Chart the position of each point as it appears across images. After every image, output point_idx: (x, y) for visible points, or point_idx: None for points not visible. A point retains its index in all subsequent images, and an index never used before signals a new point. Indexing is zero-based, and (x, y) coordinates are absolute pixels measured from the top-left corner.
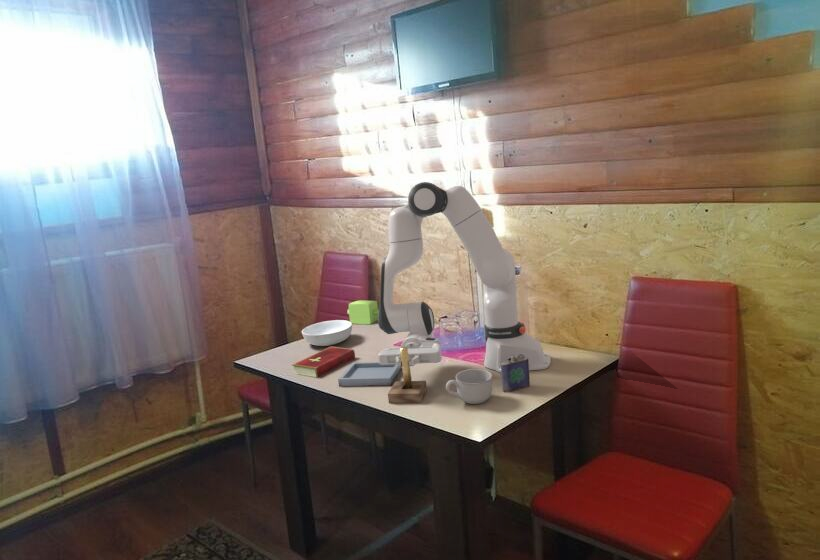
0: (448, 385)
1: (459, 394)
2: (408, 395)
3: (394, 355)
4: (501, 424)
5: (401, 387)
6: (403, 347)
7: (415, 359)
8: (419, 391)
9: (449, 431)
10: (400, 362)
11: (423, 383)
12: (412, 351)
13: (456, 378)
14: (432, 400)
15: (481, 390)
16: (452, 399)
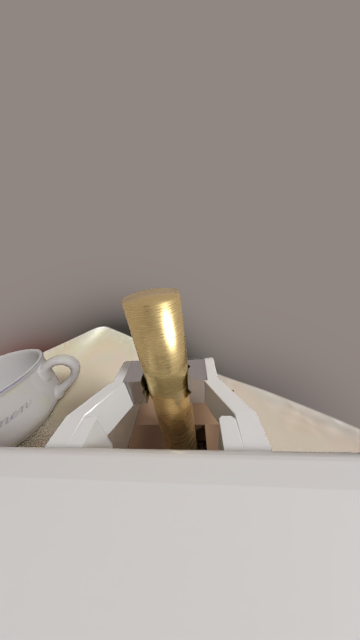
0: (72, 357)
1: (58, 383)
2: None
3: (299, 453)
4: (59, 347)
5: (209, 443)
6: (151, 299)
7: (103, 394)
8: (144, 404)
9: (122, 333)
10: (190, 360)
11: None
12: (55, 541)
13: (35, 363)
14: (119, 422)
15: (17, 367)
16: None
